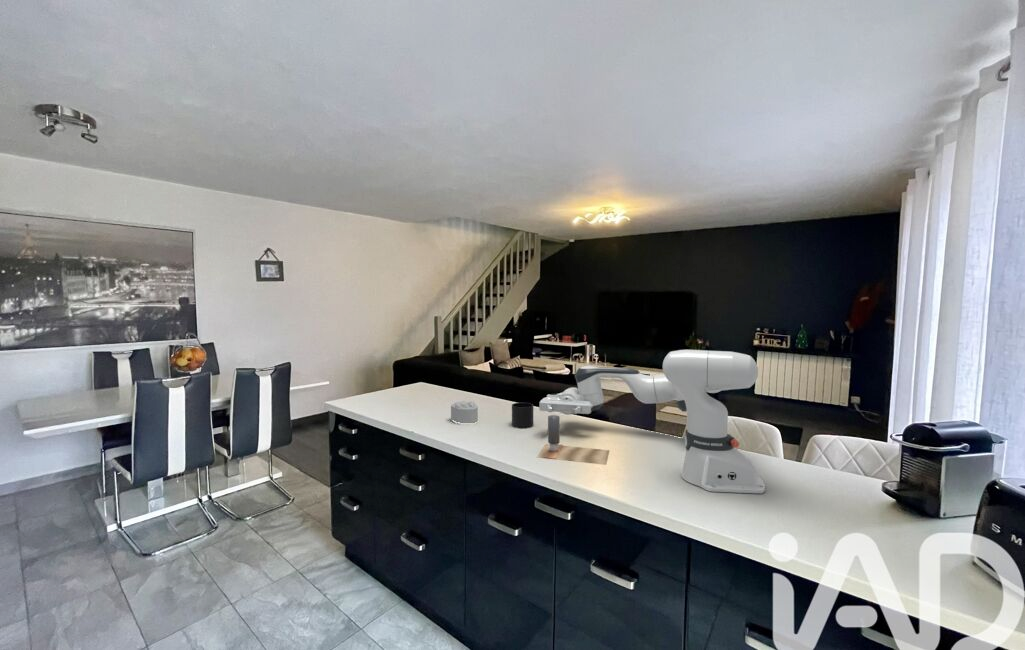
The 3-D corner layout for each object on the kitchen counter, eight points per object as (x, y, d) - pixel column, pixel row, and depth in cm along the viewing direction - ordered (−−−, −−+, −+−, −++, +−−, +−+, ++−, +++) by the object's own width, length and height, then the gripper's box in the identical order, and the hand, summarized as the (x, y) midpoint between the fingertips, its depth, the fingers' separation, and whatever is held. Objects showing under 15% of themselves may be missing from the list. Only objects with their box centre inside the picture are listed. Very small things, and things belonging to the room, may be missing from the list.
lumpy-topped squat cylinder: (466, 416, 201) (466, 398, 201) (483, 422, 191) (483, 403, 191) (448, 420, 194) (447, 401, 194) (464, 426, 184) (463, 406, 184)
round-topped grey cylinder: (560, 449, 150) (560, 415, 149) (558, 453, 146) (558, 418, 146) (549, 448, 151) (549, 414, 151) (547, 452, 147) (546, 417, 147)
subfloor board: (609, 454, 150) (609, 449, 150) (606, 469, 137) (606, 463, 137) (545, 448, 157) (545, 443, 157) (536, 461, 143) (536, 456, 143)
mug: (541, 423, 189) (541, 403, 188) (524, 429, 179) (524, 408, 179) (524, 419, 195) (524, 400, 194) (507, 425, 185) (507, 405, 185)
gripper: (593, 412, 171) (589, 421, 158) (543, 409, 177) (536, 417, 164) (593, 396, 171) (589, 404, 158) (543, 394, 177) (536, 401, 163)
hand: (562, 410), depth 161 cm, fingers open, 8 cm apart
